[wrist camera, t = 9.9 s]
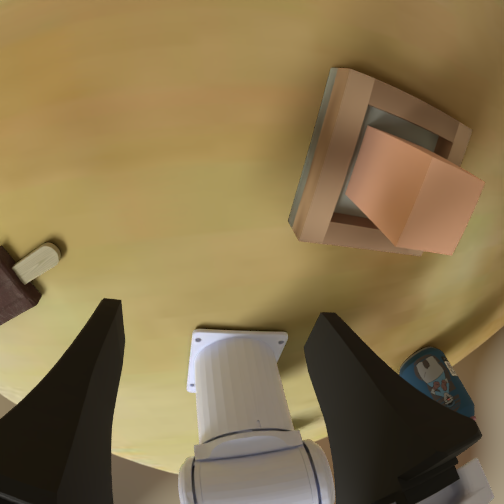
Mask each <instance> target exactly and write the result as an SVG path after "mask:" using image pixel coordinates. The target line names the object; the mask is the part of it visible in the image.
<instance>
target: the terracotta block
mask: <svg viewBox="0 0 504 504" xmlns="http://www.w3.org/2000/svg"><path fill="white" fill-rule="evenodd" d="M484 185H485V182H484V181H482V180H481V179H479V178H478V177H476V176H474V175H473V174H471V173H469V172H468V171H466V170H464V169H462V168H461V167H459V166H457V165H455V164H454V163H452V162H450V161H448V160H446V159H445V158H443V157H441V156H439V155H437V154H435V153H433V152H431V151H429V150H428V149H426V148H424V147H422V146H419V145H417V144H415V143H412V142H410V141H407V140H405V139H402V138H400V137H397V136H395V135H392V134H390V133H387V132H384V131H382V130H379V129H376V128H373V127H371V126H368V125H367V128H366V131H365V135H364V138H363V141H362V144H361V147H360V150H359V154H358V157H357V160H356V163H355V166H354V169H353V172H352V175H351V178H350V181H349V184H348V186H347V189H346V192H345V195H346V196H347V197H348V198H349V199H350V200H351V201H352V202H353V203H354V204H355V205H356V206H357V207H358V208H359V209H360V210H361V211H362V212H363V213H364V214H365V215H366V216H367V217H368V218H369V219H370V220H371V221H372V222H373V223H374V224H375V225H376V226H377V227H378V228H379V229H380V230H381V232H382V233H383V234H384V235H385V236H386V237H387V238H388V239H389V240H390V241H391V242H392V244H393V245H394V246H395V247H400V248H407V249H413V250H420V251H427V252H433V253H439V254H446V255H452V254H453V252H454V250H455V249H456V247H457V245H458V243H459V241H460V239H461V237H462V235H463V233H464V230H465V228H466V226H467V224H468V222H469V220H470V218H471V215H472V213H473V211H474V209H475V206H476V204H477V202H478V200H479V197H480V195H481V192H482V190H483V187H484Z"/></svg>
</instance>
